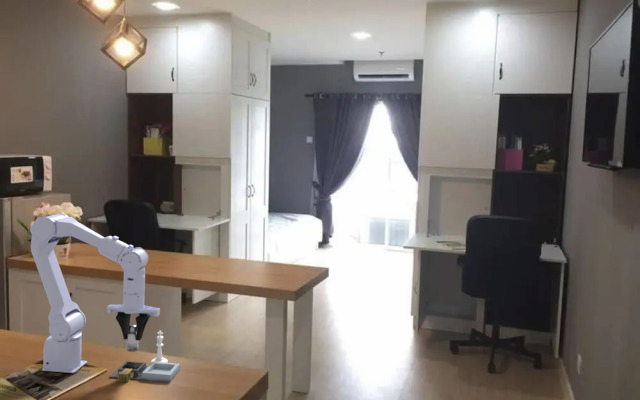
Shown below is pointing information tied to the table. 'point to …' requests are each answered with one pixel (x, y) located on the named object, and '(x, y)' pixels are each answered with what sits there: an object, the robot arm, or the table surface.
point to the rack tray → (161, 371)
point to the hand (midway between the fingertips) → (132, 338)
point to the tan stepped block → (125, 375)
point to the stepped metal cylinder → (132, 339)
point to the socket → (131, 365)
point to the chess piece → (159, 349)
